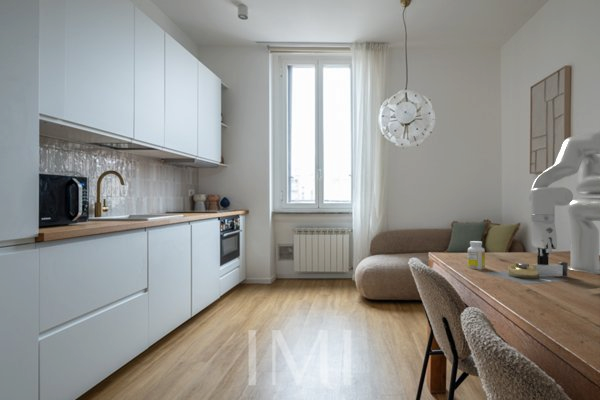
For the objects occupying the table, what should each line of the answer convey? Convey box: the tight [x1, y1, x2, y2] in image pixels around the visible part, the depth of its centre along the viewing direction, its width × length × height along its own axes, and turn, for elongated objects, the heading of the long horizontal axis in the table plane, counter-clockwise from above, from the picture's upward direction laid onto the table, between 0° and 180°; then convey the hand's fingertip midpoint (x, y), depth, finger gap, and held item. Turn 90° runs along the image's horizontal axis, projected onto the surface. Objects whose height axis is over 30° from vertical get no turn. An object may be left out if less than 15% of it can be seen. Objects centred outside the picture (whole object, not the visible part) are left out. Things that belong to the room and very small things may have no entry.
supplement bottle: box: [467, 240, 486, 270], centre depth 152 cm, size 7×7×13 cm
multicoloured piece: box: [507, 261, 569, 279], centre depth 135 cm, size 21×10×5 cm, turn 88°
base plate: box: [482, 270, 570, 285], centre depth 135 cm, size 20×20×2 cm
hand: (542, 265), depth 137 cm, fingers closed
